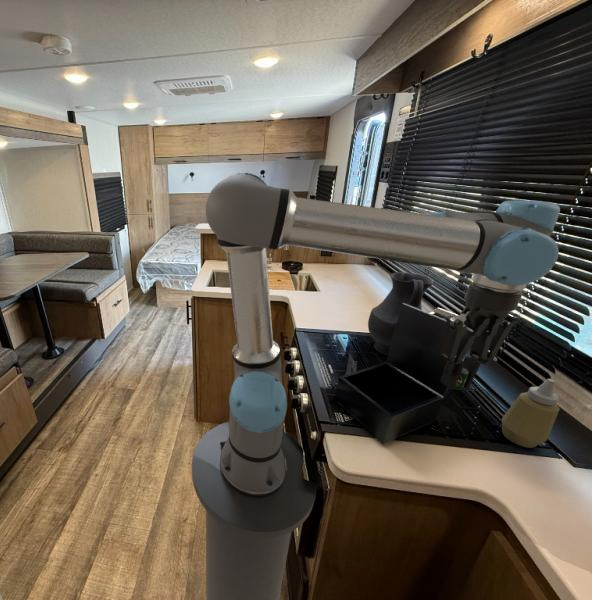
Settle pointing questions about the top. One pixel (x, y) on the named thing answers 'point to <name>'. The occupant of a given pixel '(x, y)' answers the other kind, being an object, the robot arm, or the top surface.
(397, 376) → the compartment
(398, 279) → the pitcher
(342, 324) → the top surface
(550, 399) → the squeeze bottle
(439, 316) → the compartment lid
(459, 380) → the beer can
